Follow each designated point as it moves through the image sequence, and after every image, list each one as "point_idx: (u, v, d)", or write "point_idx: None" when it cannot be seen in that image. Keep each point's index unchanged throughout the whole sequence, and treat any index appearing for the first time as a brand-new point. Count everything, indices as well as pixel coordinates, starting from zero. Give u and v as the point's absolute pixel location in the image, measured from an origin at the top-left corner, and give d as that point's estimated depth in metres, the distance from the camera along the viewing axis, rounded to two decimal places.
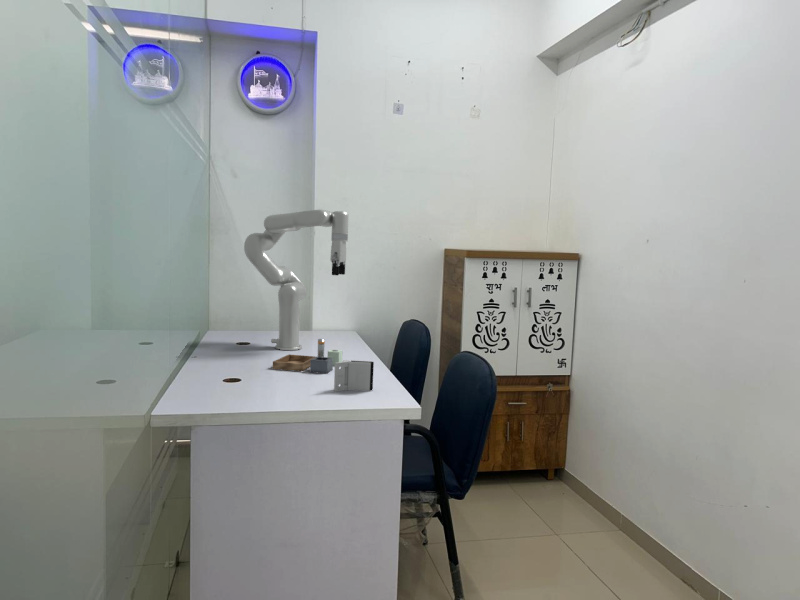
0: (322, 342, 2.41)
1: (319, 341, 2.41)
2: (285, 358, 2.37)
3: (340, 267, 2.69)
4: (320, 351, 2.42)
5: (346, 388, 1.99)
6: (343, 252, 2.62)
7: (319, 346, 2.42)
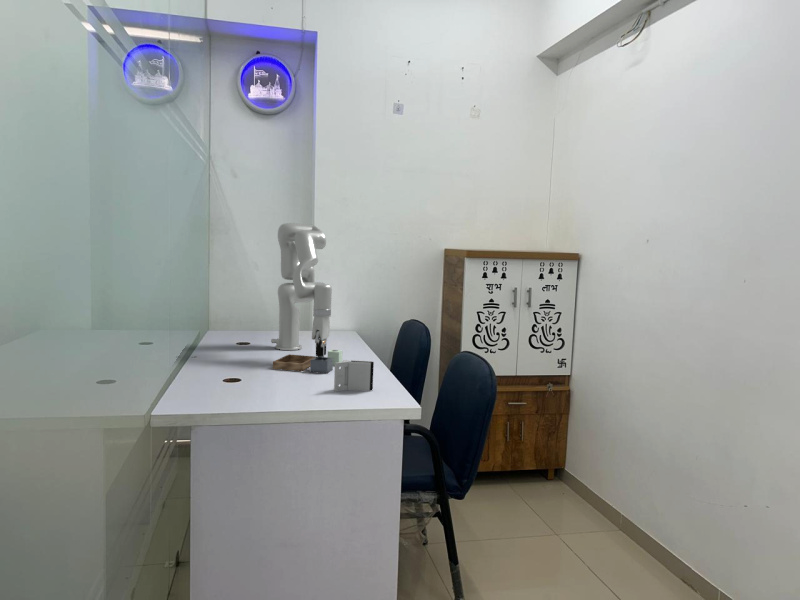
0: None
1: (319, 341, 2.41)
2: (285, 358, 2.37)
3: None
4: None
5: (346, 388, 1.99)
6: (326, 328, 2.41)
7: None
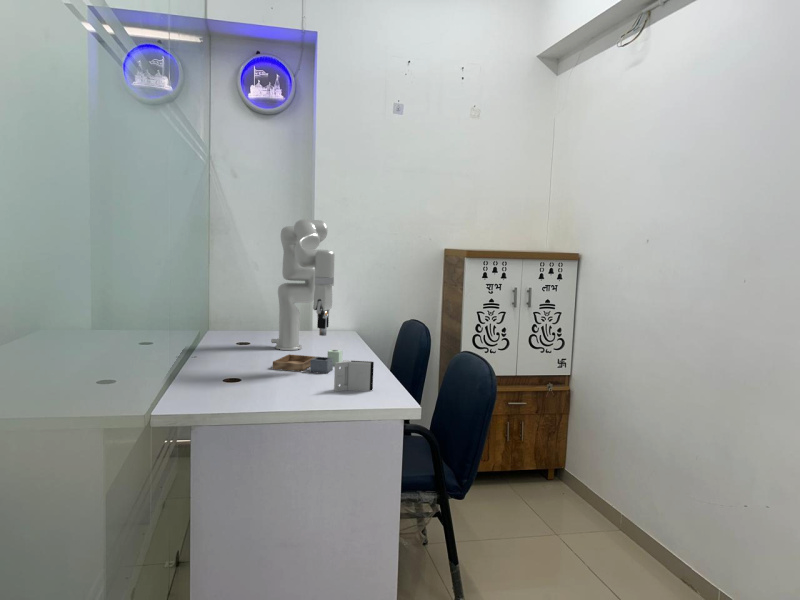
0: None
1: None
2: (285, 358, 2.37)
3: None
4: None
5: (346, 388, 1.99)
6: (328, 298, 2.22)
7: None
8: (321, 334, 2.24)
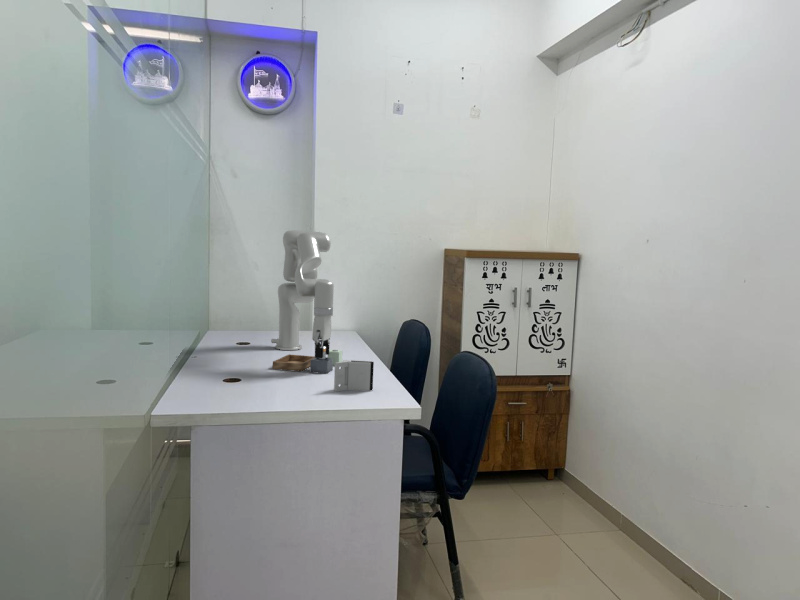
0: (323, 349, 2.25)
1: None
2: (285, 358, 2.37)
3: None
4: (321, 359, 2.25)
5: (346, 388, 1.99)
6: (327, 329, 2.24)
7: None
8: None
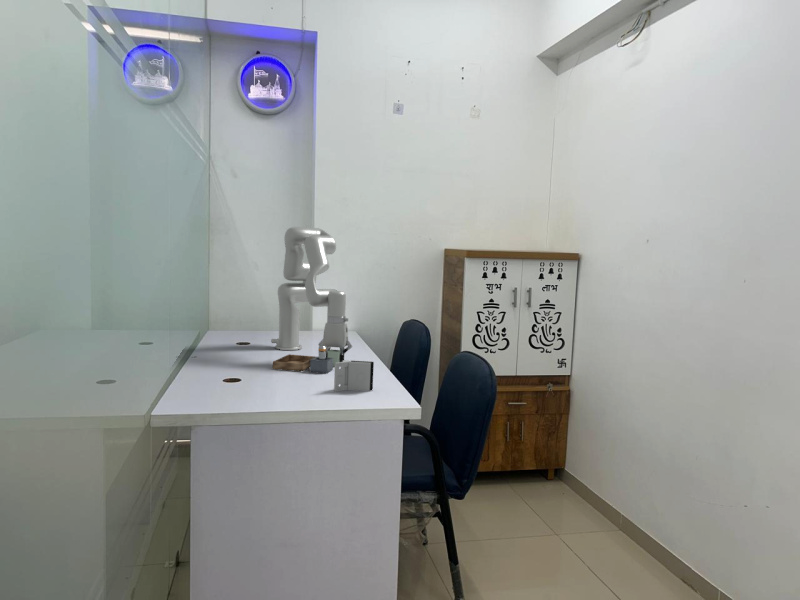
0: (323, 349, 2.25)
1: (320, 348, 2.25)
2: (285, 358, 2.37)
3: None
4: (321, 359, 2.25)
5: (346, 388, 1.99)
6: (331, 336, 2.37)
7: (320, 354, 2.25)
8: None
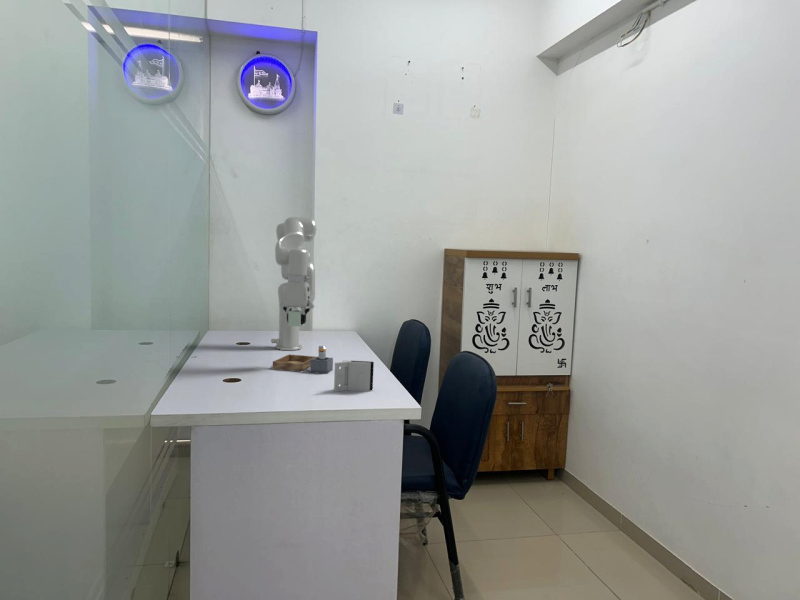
0: (323, 349, 2.25)
1: (320, 348, 2.25)
2: (285, 358, 2.37)
3: None
4: (321, 359, 2.25)
5: (346, 388, 1.99)
6: (292, 295, 2.29)
7: (320, 354, 2.25)
8: None
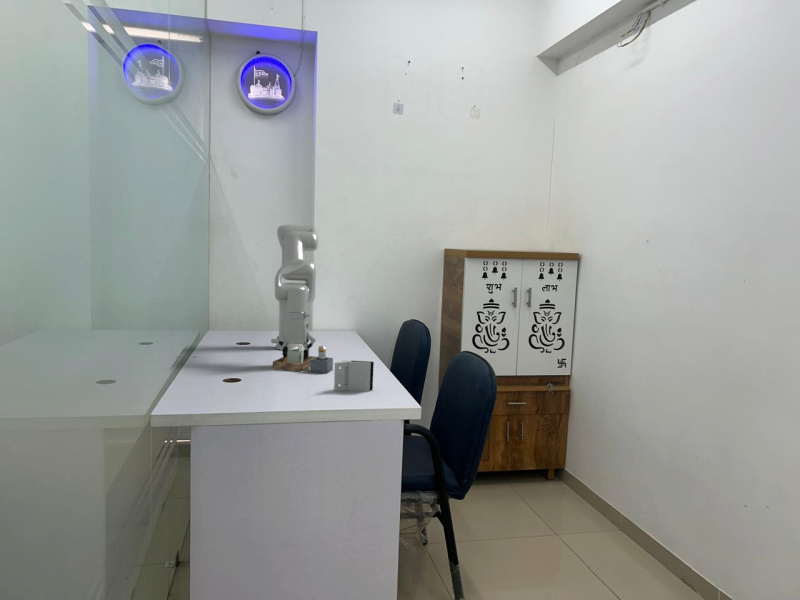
0: (323, 349, 2.25)
1: (320, 348, 2.25)
2: (285, 358, 2.37)
3: None
4: (321, 359, 2.25)
5: (346, 388, 1.99)
6: (291, 332, 2.30)
7: (320, 354, 2.25)
8: None
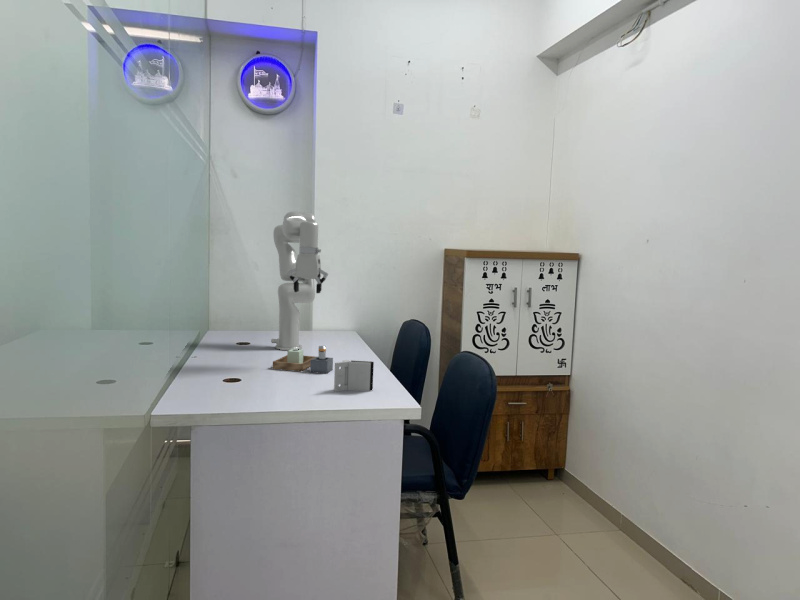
0: (323, 349, 2.25)
1: (320, 348, 2.25)
2: (285, 358, 2.37)
3: None
4: (321, 359, 2.25)
5: (346, 388, 1.99)
6: (303, 267, 2.34)
7: (320, 354, 2.25)
8: None
